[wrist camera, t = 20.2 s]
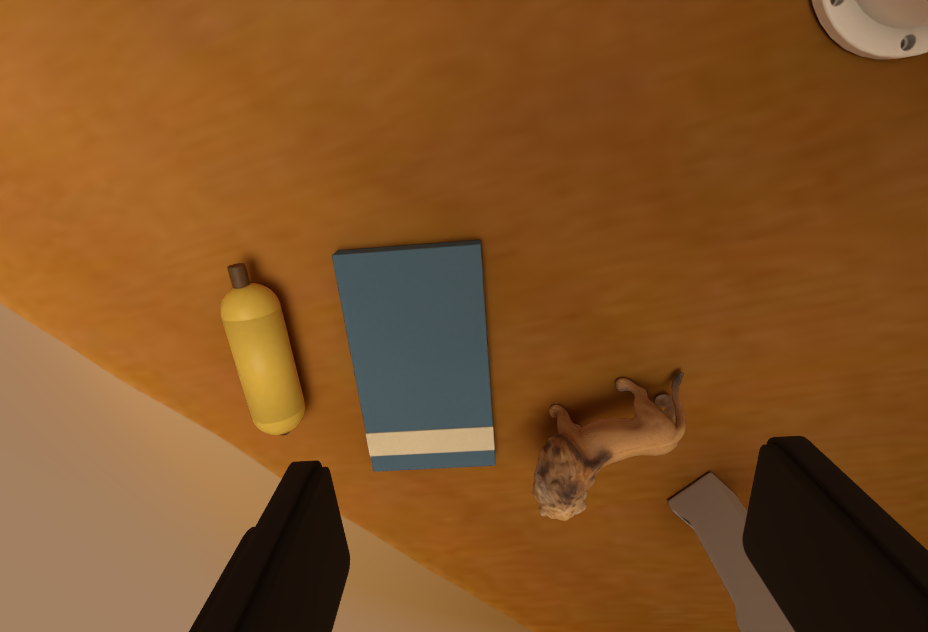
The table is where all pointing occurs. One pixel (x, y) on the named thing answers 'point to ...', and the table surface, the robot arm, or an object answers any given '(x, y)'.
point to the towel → (419, 353)
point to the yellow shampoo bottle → (262, 354)
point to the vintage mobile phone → (729, 551)
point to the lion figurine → (602, 447)
